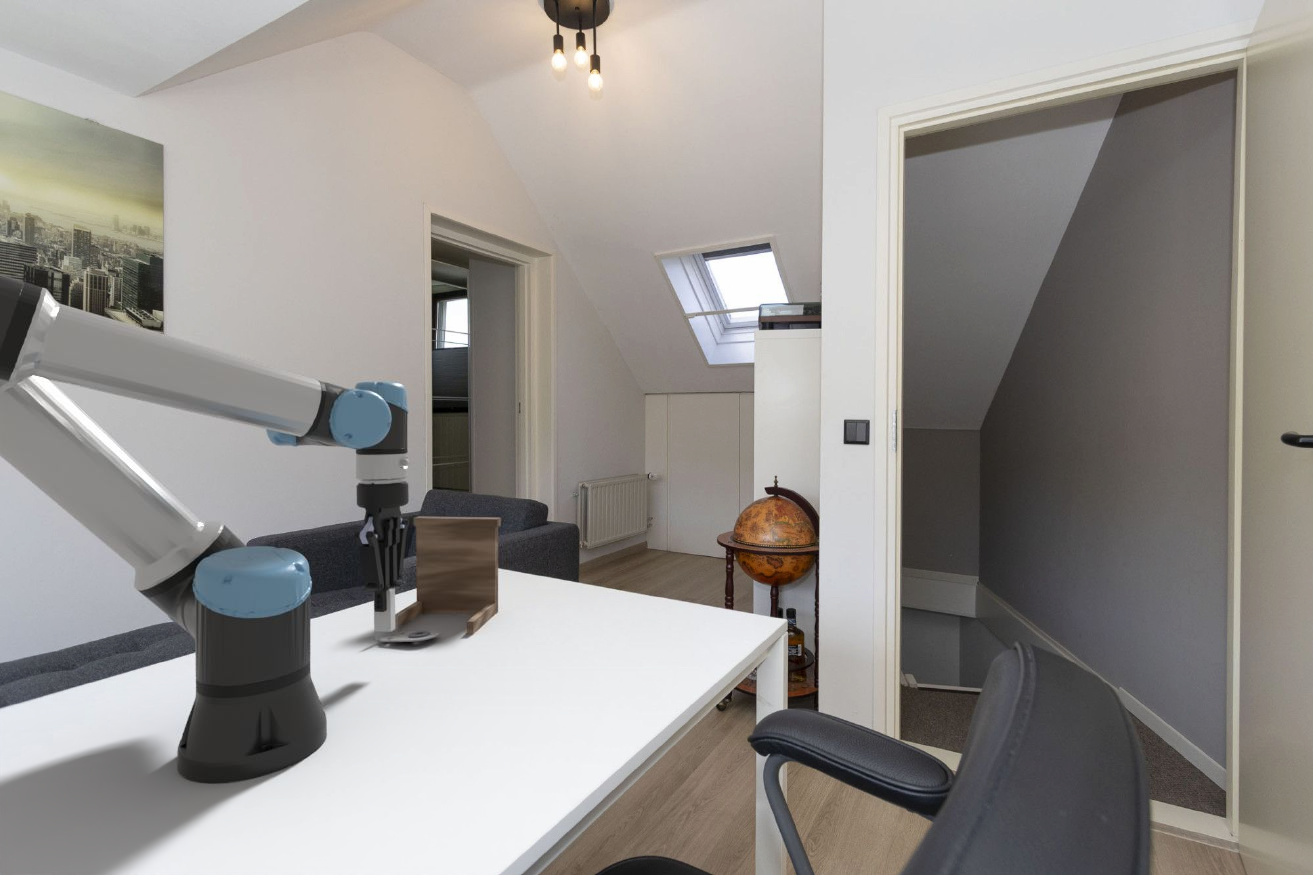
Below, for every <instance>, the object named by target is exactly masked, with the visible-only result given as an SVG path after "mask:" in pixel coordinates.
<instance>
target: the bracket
mask: <svg viewBox="0 0 1313 875" xmlns="http://www.w3.org/2000/svg"><path fill="white" fill-rule="evenodd" d="M439 635H440V634H439V632H438V631H434V630H433V631H432V630H431V631H429V630H428V631H427V630H424V631H422V630H421V631H416V630H415V631H400V632H399V629H398V615H395V629H394V630H393V631H391V632H384V631H374V640H375V641H379V643H403V642H405V643H406V642H407V643H408V642H411V643H412V642H413V643H414V642H415V643H417V642H423V641H426V640H427V641H428V640H430V639H435V638H436V637H438V636H439Z"/></svg>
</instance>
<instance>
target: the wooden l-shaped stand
mask: <svg viewBox="0 0 1313 875" xmlns="http://www.w3.org/2000/svg"><path fill="white" fill-rule="evenodd" d="M501 523H502V517H485V516H482V517H479V516H478V517H477V516H419V515H418V516H416V517H413V527H415V528H416V533H415V534H416V538H415V539H416V541H415V542H416V543H415V544H416V547H415V548H416V601H414V602H413V603H411V604H409V605H408V606H406V607H405V608H404V609H402V610H400V611H398V612H397V613H395V615H398V630H400V629H401V628H403V627H405V626H406V625H407V624H409V623H410V622H412V621H413V620H415V619H416V618H417V617H420V615H422V614H426V615H427V614H428V615H429V614H430V615H470V616H471V615H473V616H472V617H470V618H469V620H467V621H466V635H472V636H473V635H475V634H476V633H477V632H479V630H480V629H481V628H482V627H483V626H485V624H487V622H489V621H490V620H491V619H492V618H493V617H494V616H495V614H496V615H497V614H498V613H499V528H500V527H501V525H502V524H501Z"/></svg>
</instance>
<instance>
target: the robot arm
mask: <svg viewBox="0 0 1313 875" xmlns="http://www.w3.org/2000/svg"><path fill="white" fill-rule="evenodd" d="M54 382H56V383H57V382H58V383H61V384H67V385H71V386H75V387H80V388H84V389H89V390H94V391H98V392H102V393H107V394H109V395H110V394H111V395H116V396H119V397H124V398H127V399H128V398H129V399H132V400H137V401H143V402H146V403H149V404H150V403H151V404H155V405H158V406H159V405H160V406H164V407H169V408H173V409H177V410H181V411H185V412H190V413H193V414H194V413H196V414H198V415H203V416H208V417H212V418H216V419H221V420H225V421H229V422H234V423H239V424H242V425H243V424H244V425H247V426H251V427H257V428H261V429H265V430H266V435H267V437H268V439H269V440H270V442H271V443H272V444H273V445H276V446H282V447H283V446H288V447H290V446H291V447H295V448H296V447H298V446H301V447H302V446H321V447H322V446H323V447H337V448H338V447H341V448H349V449H353V450H355V454H356V455H355V476H356V477H355V478H356V480H358V481H360V482H359V483H357V485H356V487H355V488H356V505H357V507H359V508H361V509H362V508H363V509H364V510H365V513H364V518H363V524H364V527H363V528H362V530H356V531H355V533H354V539H355V541H356V544H357V546H358V553H359V558H360V565H361V570H362V577H363V578H362V579H363V583H364V589H365V590H366V591H367V592H368V591H369V592H370V591H372V592H373V626H374V627H373V629H374V632H375V631H384V632H391V631H393V630H394V629H395V614H396V588H397V587H402V583H403V582H402V581H400V580H402V579H403V573H404V572H403V571H404V563H405V562H404V561H405V552H406V542H407V541H406V540H407V532H408V528H409V525H410V522H409V519H407V518H402V512H401V508H400V507H404V506H406V505H408V504H409V501H410V500H409V497H410V496H409V482H408V481H406V480H405V479H407V478H408V477H409V475H408V474H409V465H410V464H411V461H410V460H409V458H408V457H409V456H408V454H409V453H408V448H409V447H408V418H409V416H408V415H409V407H408V396H407V390H406V387H405V386H404V385H403V384H401V383H400V382H392V381H391V382H389V381H360V382H357V383H356V384H355V386H354V388H345V387H343V386H339V385H336V384H333V383H329V382H325V381H320V380H318V379H316V378H313V377H308V376H306V375H301V374H298V373H295V372H293V371H288V370H286V369H281V368H278V367H275V366H271V365H268V364H264V363H262V362H258V361H254V360H251V359H249V358H245V357H242V356H238V355H235V354H231V353H228V352H224V351H221V350H217V349H214V348H211V347H208V346H204V345H202V344H198V343H194V342H191V341H187V340H184V339H180V338H177V337H174V336H171V335H168V334H167V335H166V334H163V333H160V332H157V331H153V330H150V329H147V328H143V327H140V326H137V325H133V324H130V323H127V322H123V321H119V320H116V319H113V318H110V317H106V316H103V315H99V314H96V313H93V312H89V311H85V310H83V309H79V308H76V307H72V306H69V305H66V304H62V303H59V302H58V301H57V300H55V298H54V296H53V295H52V294H51V293H50V291H49V290H48V289H47V288H45V287H41V286H39V285H35V284H32V283H29V282H25V281H22V280H19V279H17V278H14V277H10V276H7V275H4V274H1V273H0V458H2V459H3V460H4V461H6V462H7V463H8V464H9V465H11V467H13V468H14V470H16V471H18V472H19V473H20V474H21V475H23V476H24V477H25V478H26V479H27V480H29V481H30V482H31V483H32V484H33V485H35V487H37V488H38V489H39V490H40V491H42V492H43V493H44V494H45V495H46V496H48V497H49V498H50V499H51V500H52V501H53V502H55V504H57V505H58V506H60V508H62V509H63V510H64V511H66V513H68V514H69V515H70V516H71V517H72V518H73V519H75V520H76V521H77V522H78V523H80V524H81V525H82V527H84V528H85V529H87V531H89V533H91V534H93V535H94V536H95V537H96V538H97V539H99V540H100V541H101V542H102V543H103V544H104V545H106V546H107V547H108V548H109V549H111V550H112V551H113V552H114V553H116V555H118V556H119V557H120V558H121V559H123V560H124V561H125V563H127V564H128V565H129V566H131V567H132V568H133V569H134V571H135V572H134V573H135V574H134V583H133V587H134V589H136V591H138V592H139V593H140V594H142V595H143V596H144V597H145V598H146V599H147V600H149V601H150V602H151V603H153V605H155V606H156V607H158V609H160V610H161V611H162V612H163V613H165V614H166V615H167V617H168V618H169V619H170V620H171V621H172V622H173V623H175V624H176V625H177V626H179V627H180V628H182V629H183V630H184V631H186V632H187V633H188V634H189V635H190V636H191V637H192V638H193V639H194V642H195V643H194V645H195V649H194V650H195V652H194V654H195V656H194V657H195V696H194V701H193V704H192V706H191V710H190V712H189V715H188V718H187V720H186V724H185V726H184V729H183V732H182V736H181V739H180V740H179V743H178V746H177V751H176V753H177V755H176V756H177V758H176V759H177V763H176V764H177V769H176V770H177V772H178V774H179V775H180V776H181V777H182V778H184V779H186V780H188V781H192V782H194V783H195V782H196V783H202V784H203V783H204V784H225V783H226V784H227V783H236V782H240V781H241V782H242V781H247V780H251V779H256V778H260V777H264V776H267V775H270V774H275V773H276V772H279V771H282V770H284V769H285V770H286V769H287V768H289V767H291V766H294V765H296V764H298V763H300V762H302V761H304V760H305V759H307V758H309V757H310V756H312V755H313V754H314V753H316V752H317V751H318V750H319V749H320V748H322V746H323V745H324V743H325V742H326V740H327V736H328V734H327V732H328V728H327V725H328V724H327V723H328V722H327V714H326V712H325V711H324V710H323V706H322V703H321V700H320V697H319V695H318V693H317V692H318V691H317V689H316V687H315V685H314V682H313V679H312V676H311V672H312V671H311V591H312V587H313V586H312V585H313V581H312V577H311V574H310V573H311V572H310V564H309V561H308V560H307V558H306V557H305V556H304V555H303V554H301V553H300V552H299V551H296V550H294V549H290V548H285V547H280V548H278V547H275V546H270V545H269V546H268V545H267V546H263V545H262V546H261V545H260V546H258V545H257V546H255V545H254V546H247V545H246V544H245V543H244V542H243V541H242V540H241V539H240V538H238V536H237V535H236V534H235V533H233V531H231V529H229V528H228V527H227V526H226V525H225V524H224V523H223V522H222V521H220V520H201V519H199V517H198V516H196V515H195V514H194V513H193V512H192V511H191V510H189V508H188V507H186V505H185V504H183V503H182V502H181V501H180V500H179V499H178V498H177V497H175V495H174V494H173V493H172V492H171V491H170V490H169V489H167V488H166V486H164V485H163V484H162V483H161V482H160V481H159V480H158V479H157V478H156V477H155V476H154V475H152V474H151V473H150V471H148V470H147V468H145V467H144V466H143V465H142V464H141V463H140V462H139V461H138V460H137V459H136V458H134V456H132V454H130V453H129V452H128V451H127V450H126V449H125V448H123V447H122V445H120V443H118V441H116V440H115V439H114V438H113V437H112V436H111V435H110V434H109V433H108V432H107V431H106V430H105V429H104V428H102V427H101V425H99V424H98V423H97V422H96V421H95V420H94V419H93V418H92V416H90V415H89V414H88V413H87V412H85V411H84V410H83V409H82V408H81V406H79V405H78V404H77V403H76V402H75V401H74V400H73V399H71V397H69V395H68V394H66V393H65V391H63V390H62V389H61V388H60V387H59V386H58V385H57V384H55V383H54Z"/></svg>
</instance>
